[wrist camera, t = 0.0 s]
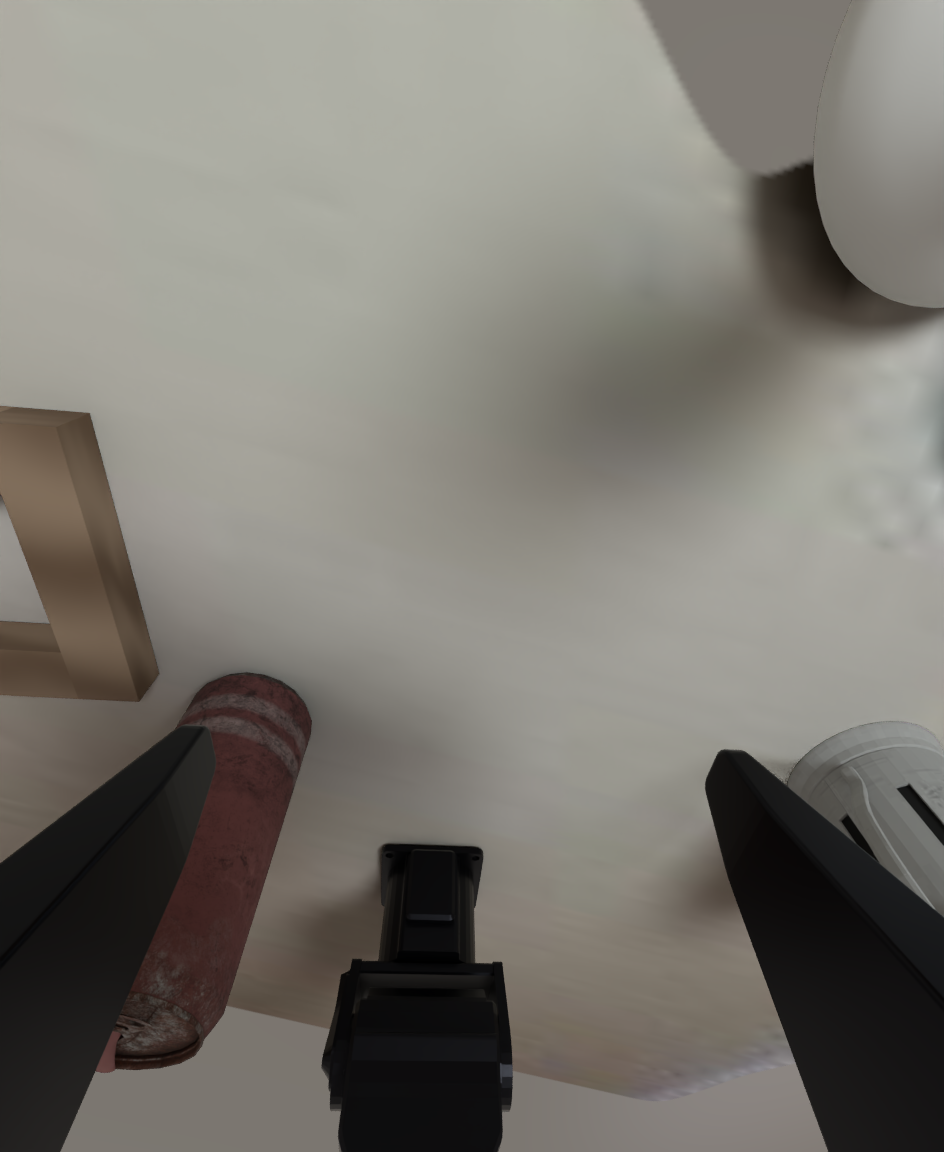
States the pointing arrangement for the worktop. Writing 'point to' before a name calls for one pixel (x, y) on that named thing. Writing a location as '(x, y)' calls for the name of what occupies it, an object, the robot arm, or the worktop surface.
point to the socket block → (69, 566)
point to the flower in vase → (886, 148)
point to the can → (215, 872)
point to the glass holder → (884, 798)
